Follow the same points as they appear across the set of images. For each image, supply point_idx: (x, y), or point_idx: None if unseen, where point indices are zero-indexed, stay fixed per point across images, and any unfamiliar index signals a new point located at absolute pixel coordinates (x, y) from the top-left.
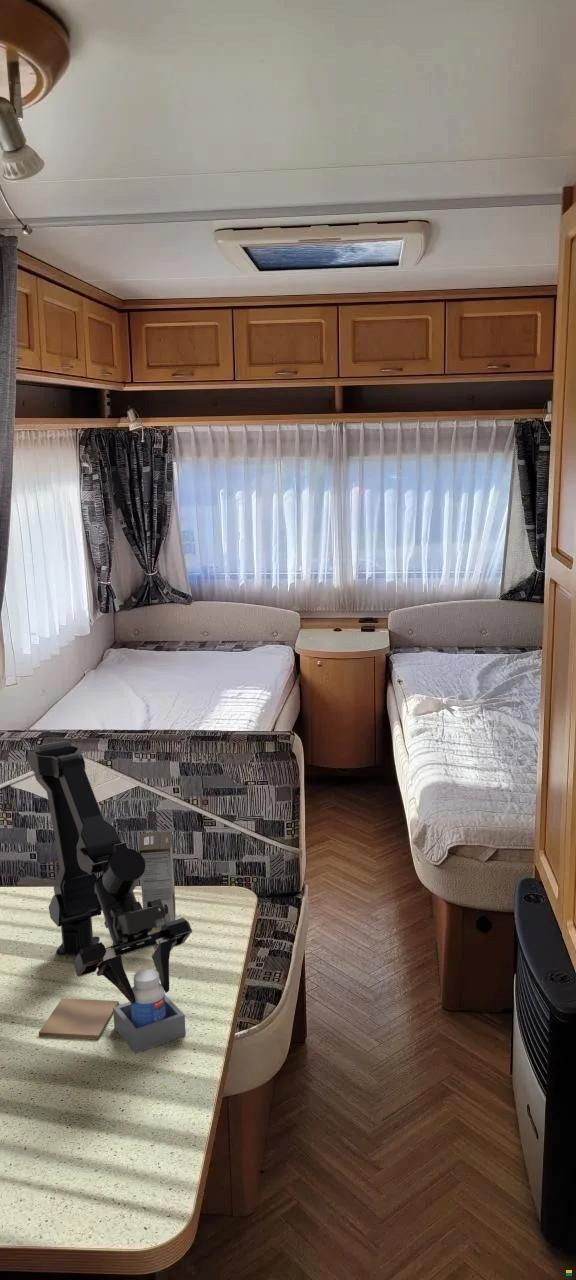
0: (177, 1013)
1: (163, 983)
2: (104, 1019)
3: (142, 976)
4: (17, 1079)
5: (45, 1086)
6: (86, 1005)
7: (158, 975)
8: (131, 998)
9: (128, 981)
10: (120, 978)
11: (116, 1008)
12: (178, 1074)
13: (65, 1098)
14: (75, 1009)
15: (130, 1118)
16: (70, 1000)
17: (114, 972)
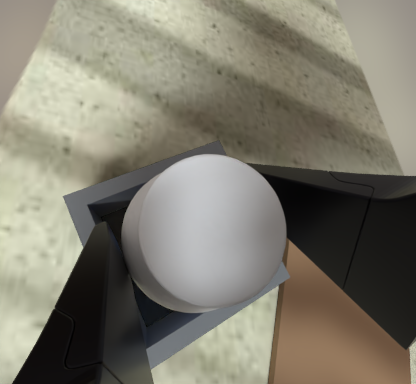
0: (87, 210)
1: (119, 255)
2: (291, 298)
3: (239, 207)
4: (382, 140)
5: (338, 112)
6: (347, 378)
7: (141, 207)
8: (256, 164)
9: (302, 180)
10: (352, 173)
11: (280, 270)
12: (115, 77)
13: (302, 77)
14: (366, 357)
15: (201, 6)
16: None
17: (411, 176)
